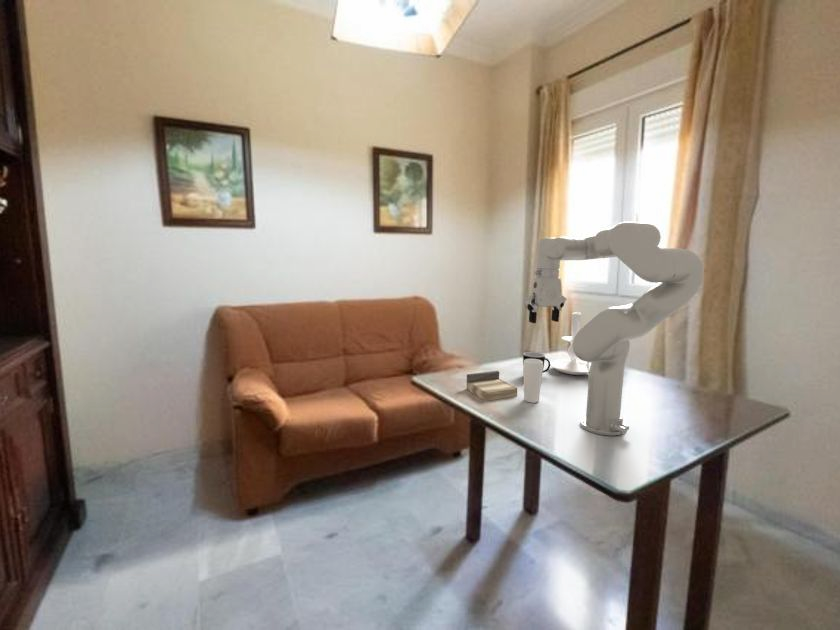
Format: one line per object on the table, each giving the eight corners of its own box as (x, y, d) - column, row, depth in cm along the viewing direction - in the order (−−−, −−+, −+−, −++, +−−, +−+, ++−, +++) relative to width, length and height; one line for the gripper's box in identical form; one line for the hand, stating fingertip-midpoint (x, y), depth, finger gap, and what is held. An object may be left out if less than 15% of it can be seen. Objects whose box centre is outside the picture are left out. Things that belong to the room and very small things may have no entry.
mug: (526, 380, 172) (527, 357, 170) (519, 374, 180) (520, 352, 179) (553, 379, 173) (555, 356, 171) (545, 373, 182) (546, 351, 180)
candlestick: (572, 383, 168) (576, 317, 164) (540, 367, 191) (543, 309, 187) (614, 380, 173) (619, 315, 169) (578, 364, 197) (581, 307, 192)
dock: (517, 396, 153) (517, 380, 152) (484, 400, 148) (485, 385, 147) (496, 384, 166) (497, 370, 165) (466, 389, 161) (466, 374, 160)
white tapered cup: (518, 399, 150) (519, 359, 147) (532, 396, 153) (533, 357, 150) (530, 405, 144) (532, 364, 141) (545, 402, 147) (547, 362, 144)
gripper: (533, 274, 135) (529, 325, 138) (574, 274, 141) (570, 322, 144) (520, 273, 142) (517, 321, 145) (560, 272, 148) (556, 318, 151)
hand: (543, 321), depth 144 cm, fingers open, 9 cm apart
